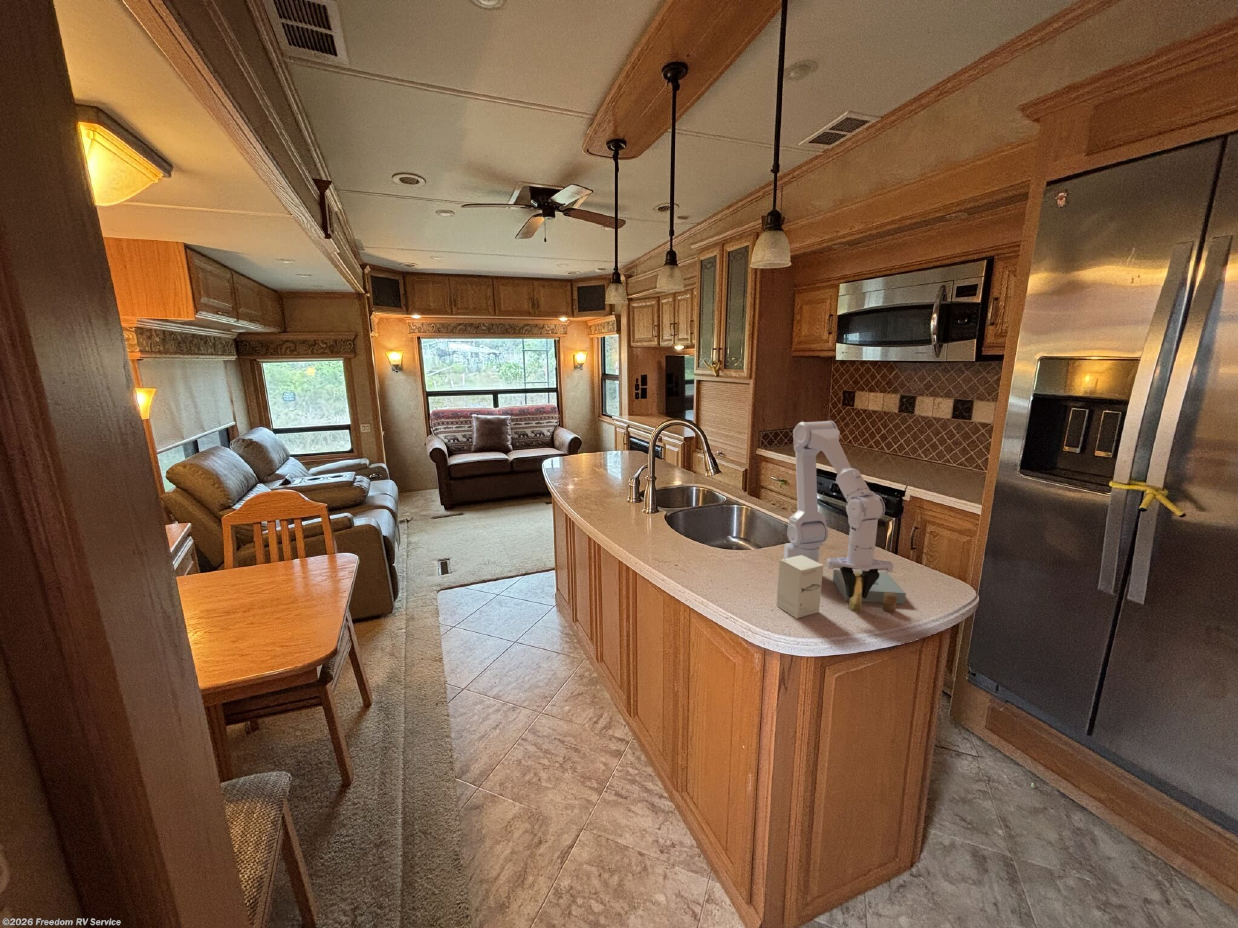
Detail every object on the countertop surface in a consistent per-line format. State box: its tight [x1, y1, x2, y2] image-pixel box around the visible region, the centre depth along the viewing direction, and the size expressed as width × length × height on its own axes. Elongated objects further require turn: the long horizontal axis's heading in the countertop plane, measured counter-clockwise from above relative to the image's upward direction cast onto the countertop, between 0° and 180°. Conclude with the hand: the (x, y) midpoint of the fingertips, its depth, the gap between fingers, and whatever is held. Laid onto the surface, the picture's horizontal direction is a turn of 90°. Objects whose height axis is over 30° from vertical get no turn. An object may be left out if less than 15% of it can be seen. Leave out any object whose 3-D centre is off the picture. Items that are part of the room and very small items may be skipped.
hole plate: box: [832, 569, 907, 605], centre depth 129 cm, size 14×12×3 cm
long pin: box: [848, 573, 865, 613], centre depth 119 cm, size 3×3×9 cm
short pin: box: [881, 592, 897, 614], centre depth 119 cm, size 3×3×4 cm
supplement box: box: [776, 555, 824, 619], centre depth 119 cm, size 7×7×13 cm
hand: (856, 596), depth 119 cm, fingers closed on long pin, 3 cm apart
